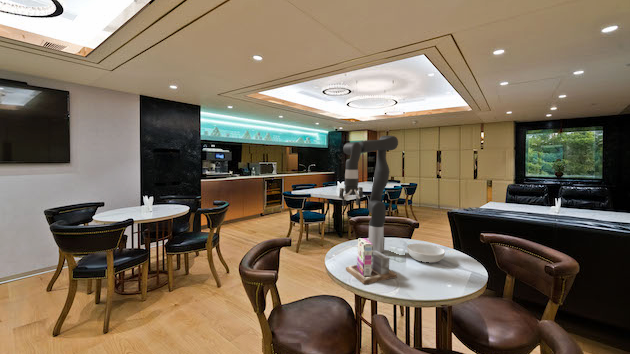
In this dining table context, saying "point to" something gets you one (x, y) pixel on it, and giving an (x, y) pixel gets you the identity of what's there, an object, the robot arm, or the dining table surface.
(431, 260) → the serving bowl
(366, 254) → the candy bar box
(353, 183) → the robot arm
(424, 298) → the dining table surface
